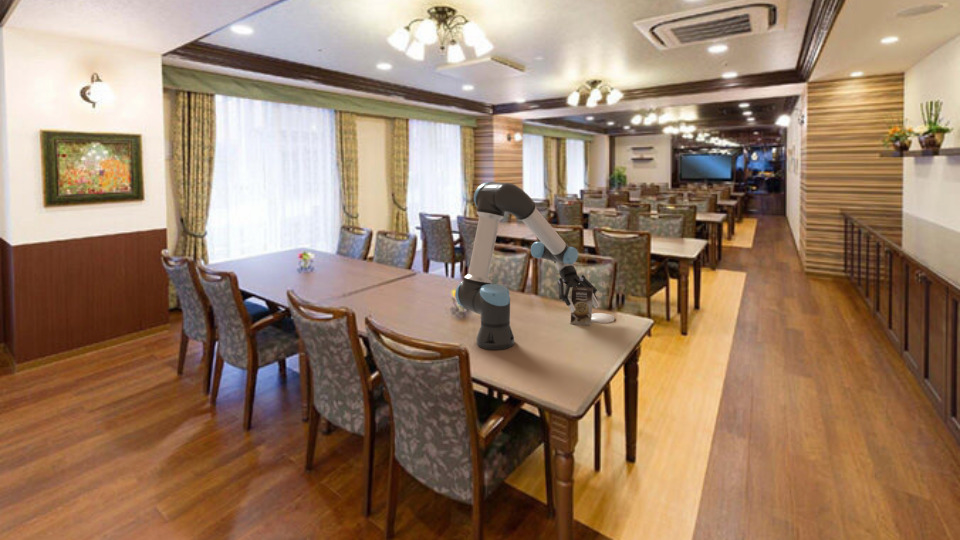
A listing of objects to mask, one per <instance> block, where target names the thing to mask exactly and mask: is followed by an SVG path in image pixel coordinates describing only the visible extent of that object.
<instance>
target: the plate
mask: <svg viewBox="0 0 960 540" xmlns="http://www.w3.org/2000/svg"><path fill="white" fill-rule="evenodd" d="M591 322H593V323H596V324H597V323H598V324H609V323H612V322H615V316H614V315H612V314H609V313H606V312H605V313H604V312H594V313H593V312H592V319H591Z"/></svg>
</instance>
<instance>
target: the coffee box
mask: <svg viewBox="0 0 960 540" xmlns="http://www.w3.org/2000/svg"><path fill="white" fill-rule="evenodd" d="M592 298H593V288H590V287H577V286H576V287H575V286H573V287H571V301H572V303H573V305H574V307H575V309H576V310H575V311H574V312H573V313H571V312H570V323H569V324H570V325H580V326H592V321H591V319H592V314H593V303H592Z"/></svg>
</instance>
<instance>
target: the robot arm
mask: <svg viewBox="0 0 960 540" xmlns="http://www.w3.org/2000/svg"><path fill="white" fill-rule="evenodd" d="M473 203H475V205H474V206H475V207H476V214H477V215H478V221H477V227H476V231H475V236H474V242H473V246H472V247H473V248H472V252H471V258H470V263H469V267H468V273H467V274H466V275H463V280H462V281H461V282H460V283H459V284H458V285H457V286H456V287H455V288H456V289H455V292H454V293H455V296H454V297H455V300H456V302H457V304H458V305H459V306H460V307H462V308H464V309H465V310H467V311H470V312H472V313H476V314H478V315H480V326H479V331H478V333H477V336H476V344H477V346H478V347H479V348H481V349H484V350H490V351H500V350H506V349H510V348H512V347H513V346H514V345H515V337H514V334H513V330H512V328H511V322H510V321H511V297H510V290H509V288H507V287H506V286H504V285H501V284H498V283H497V284H495V283H492V281H491V280H490V278H489V275H490V270H491V265H492V262H493V261H492V260H493V255H494V250H495V245H496V240H497V236H498V235H497V234H498V230H499V225H500V221H501V220H503V219H504V217H505V214H506V213H507V214H510V215H512V216H514V218H515V219H517V220H518V221H522V222H523V224H525V226H526V227H527V228H528V229H529V230H530V232H532V233H533V234H534V236H535V237H536V238H537V239H538V240H539V241H534V242H533V243H532V245H531V246H530V255H531V256H532V257H533V258H535V259H539V260H541V259H543V260H548V261H552V262H553V264H554V265H555V268H556V269H557V272H558V274H559V277H560V278H559V279H558V280H557V284H558V299H559V300H562V301H563V302H564V303H565V305H566V306H568V308H569V310H570V314H571V313H573V312H574V311H575V310H576V309H575V307H574V305H573V303H572V301H571V300H572V298H571V296H569V295H570V294H569V293H570V288H573V286H575V287H590V288H593V298H592V306H593V308H594V309H597V308H599V306H600V304H599V302H598V297H597V295H596V293H597V292H598V290H597V288H596V287H595V286H594V285H593V284H592V283H591V282H590V281H589V280H588V279H587V277H586V276H585V275H584V274H582V275H581V276H579V275H578V274H577V273H578V271H577V269H576V268H575V266H574V264H575V262H577V260H578V257H579V251H578V250H577V248H576V247H573V246H569V245H568V244H567V243H566V242H565V241H564V240H563V238H562V237H561V236H560V235H559V234H558V233H557V231H556V229H554V228H553V226H552V225H551V224H550V222H548V221H547V219H546V218H545V217H544V216H543V215H542V213H541V212H540V211H539V210H538V209H537V203H536V202H535V201H534V200H533V199H532V198H531V197H530V196H529V194H528V193H526V192H525V190H523V189H522V188H521V187H519V186H518V185H516V184H515V183H514V184H513V183H510V182H498V181H497V182H496V181H489V182H484V183H481V184H480V185H479V186H477V188H476V190H475V192H474V194H473ZM564 284H565V289H564Z"/></svg>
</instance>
